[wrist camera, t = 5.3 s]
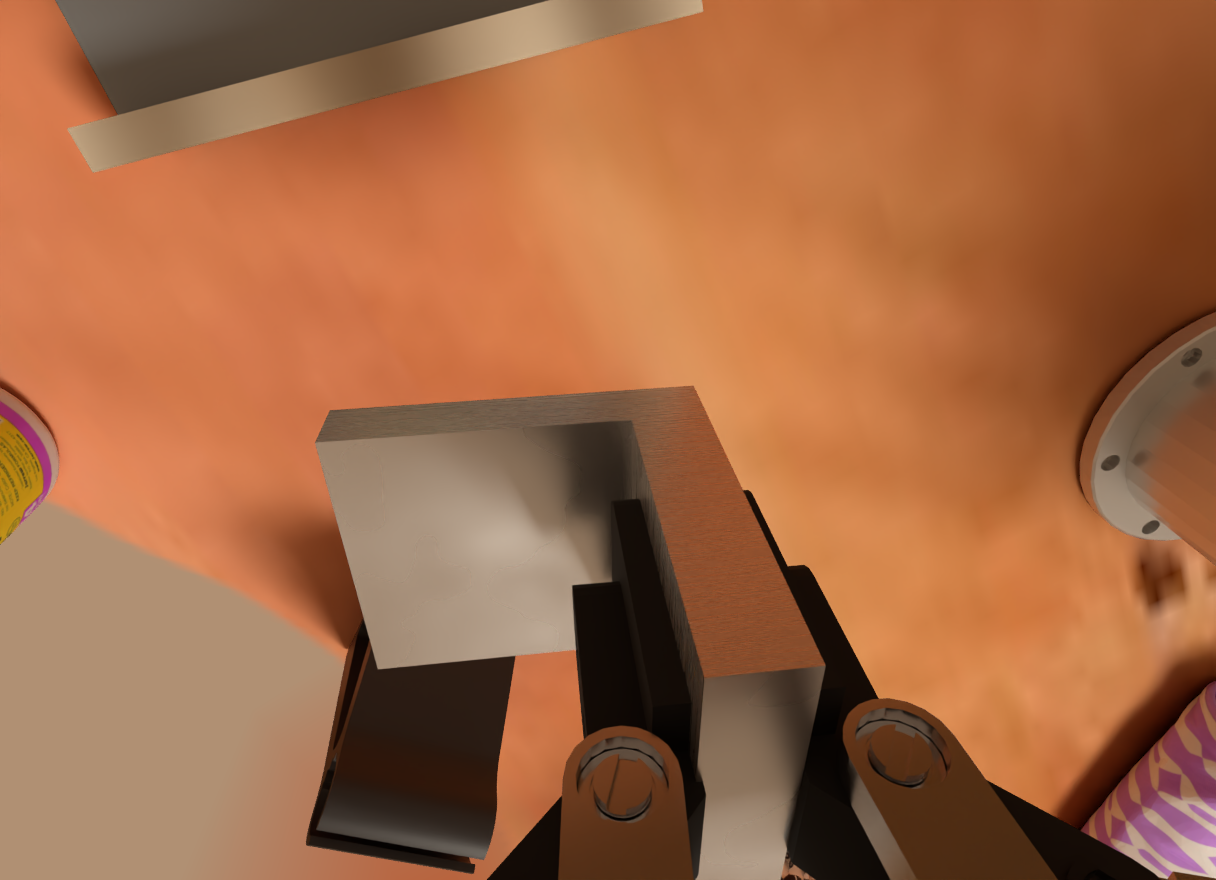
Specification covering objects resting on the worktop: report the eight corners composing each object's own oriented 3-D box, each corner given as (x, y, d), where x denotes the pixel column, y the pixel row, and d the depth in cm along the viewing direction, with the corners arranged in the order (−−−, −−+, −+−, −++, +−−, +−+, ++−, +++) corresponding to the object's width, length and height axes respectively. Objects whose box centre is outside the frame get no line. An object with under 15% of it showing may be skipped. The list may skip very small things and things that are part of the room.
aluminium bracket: (693, 385, 12) (826, 665, 7) (682, 601, 15) (772, 919, 9) (330, 410, 11) (180, 732, 6) (386, 629, 14) (312, 981, 9)
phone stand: (459, 679, 37) (433, 928, 27) (347, 649, 36) (274, 904, 25) (531, 560, 34) (532, 796, 24) (410, 519, 32) (355, 757, 22)
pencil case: (1128, 857, 55) (1231, 1000, 47) (1021, 863, 54) (1107, 1011, 46) (1291, 661, 44) (1462, 804, 36) (1160, 663, 43) (1306, 812, 35)
